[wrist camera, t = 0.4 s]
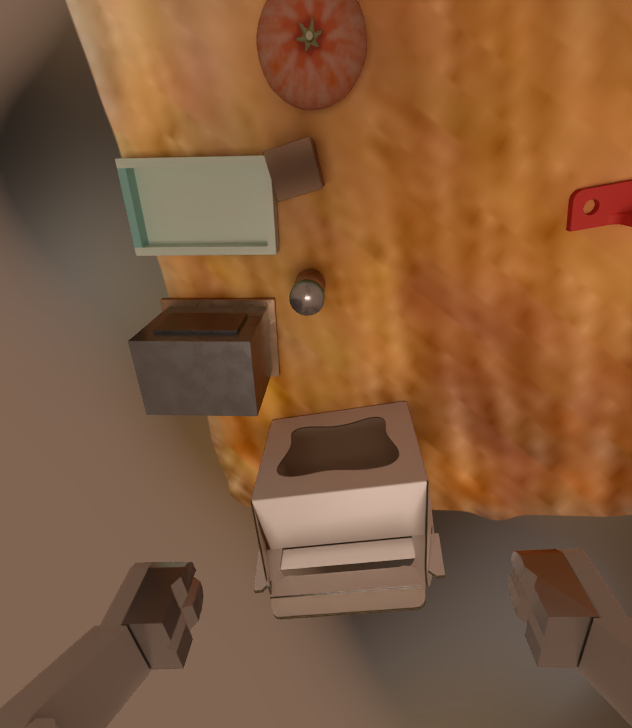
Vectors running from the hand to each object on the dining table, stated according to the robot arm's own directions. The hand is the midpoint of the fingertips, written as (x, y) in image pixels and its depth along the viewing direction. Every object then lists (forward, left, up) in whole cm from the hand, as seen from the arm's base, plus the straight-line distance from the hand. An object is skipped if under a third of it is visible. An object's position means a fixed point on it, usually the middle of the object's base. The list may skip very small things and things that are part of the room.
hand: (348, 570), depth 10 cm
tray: (-5, -17, -46) cm, 50 cm away
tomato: (-20, -3, -47) cm, 51 cm away
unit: (+13, -17, -46) cm, 51 cm away
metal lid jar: (+5, -4, -46) cm, 47 cm away
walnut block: (-9, -5, -46) cm, 47 cm away
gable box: (+32, +1, -47) cm, 57 cm away
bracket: (-4, +33, -47) cm, 57 cm away
